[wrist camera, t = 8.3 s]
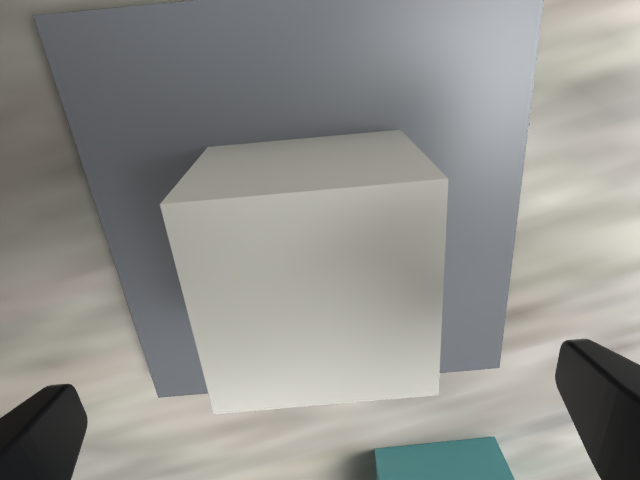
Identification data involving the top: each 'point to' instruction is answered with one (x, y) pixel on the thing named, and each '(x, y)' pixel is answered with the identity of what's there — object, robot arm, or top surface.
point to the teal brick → (443, 461)
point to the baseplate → (299, 129)
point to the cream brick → (312, 269)
